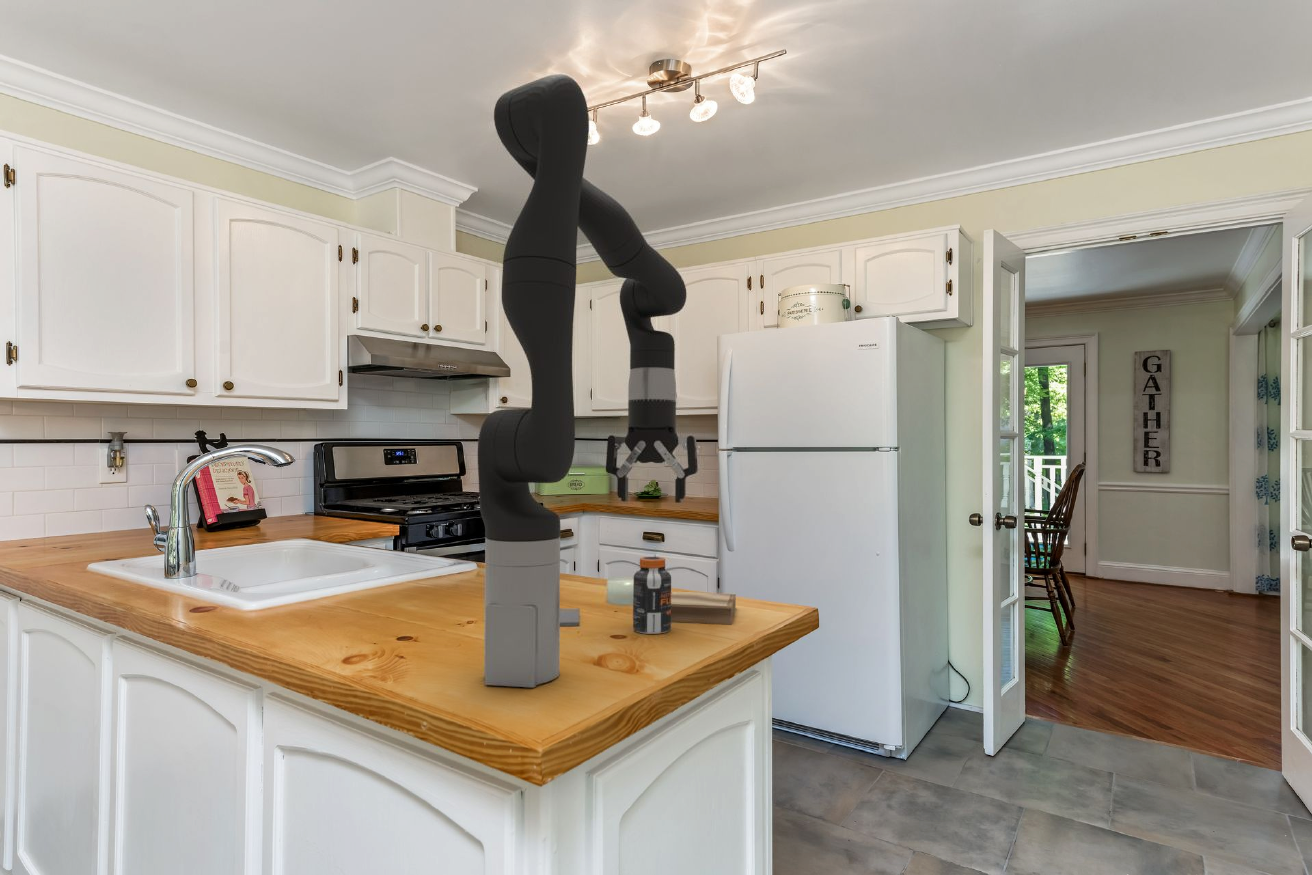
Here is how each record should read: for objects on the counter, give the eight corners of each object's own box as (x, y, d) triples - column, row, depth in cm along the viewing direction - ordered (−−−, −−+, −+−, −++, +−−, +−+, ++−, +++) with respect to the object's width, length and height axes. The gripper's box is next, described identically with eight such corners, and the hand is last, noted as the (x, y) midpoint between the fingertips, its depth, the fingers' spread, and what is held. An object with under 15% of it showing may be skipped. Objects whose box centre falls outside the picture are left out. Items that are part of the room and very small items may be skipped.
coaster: (579, 625, 119) (579, 622, 119) (515, 627, 118) (515, 623, 118) (579, 612, 129) (579, 608, 129) (520, 613, 128) (520, 609, 128)
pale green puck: (645, 607, 134) (645, 584, 134) (602, 605, 135) (602, 583, 135) (653, 598, 142) (653, 577, 142) (612, 596, 143) (612, 575, 143)
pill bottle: (667, 635, 113) (667, 561, 113) (629, 633, 114) (629, 559, 114) (674, 626, 119) (674, 555, 119) (637, 624, 120) (638, 554, 120)
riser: (731, 624, 120) (731, 607, 120) (658, 621, 122) (658, 604, 122) (735, 608, 132) (735, 593, 132) (668, 605, 134) (668, 590, 134)
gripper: (602, 397, 114) (601, 502, 114) (694, 396, 112) (694, 504, 112) (612, 400, 122) (612, 499, 122) (699, 400, 120) (699, 501, 119)
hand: (651, 501), depth 117 cm, fingers open, 8 cm apart
